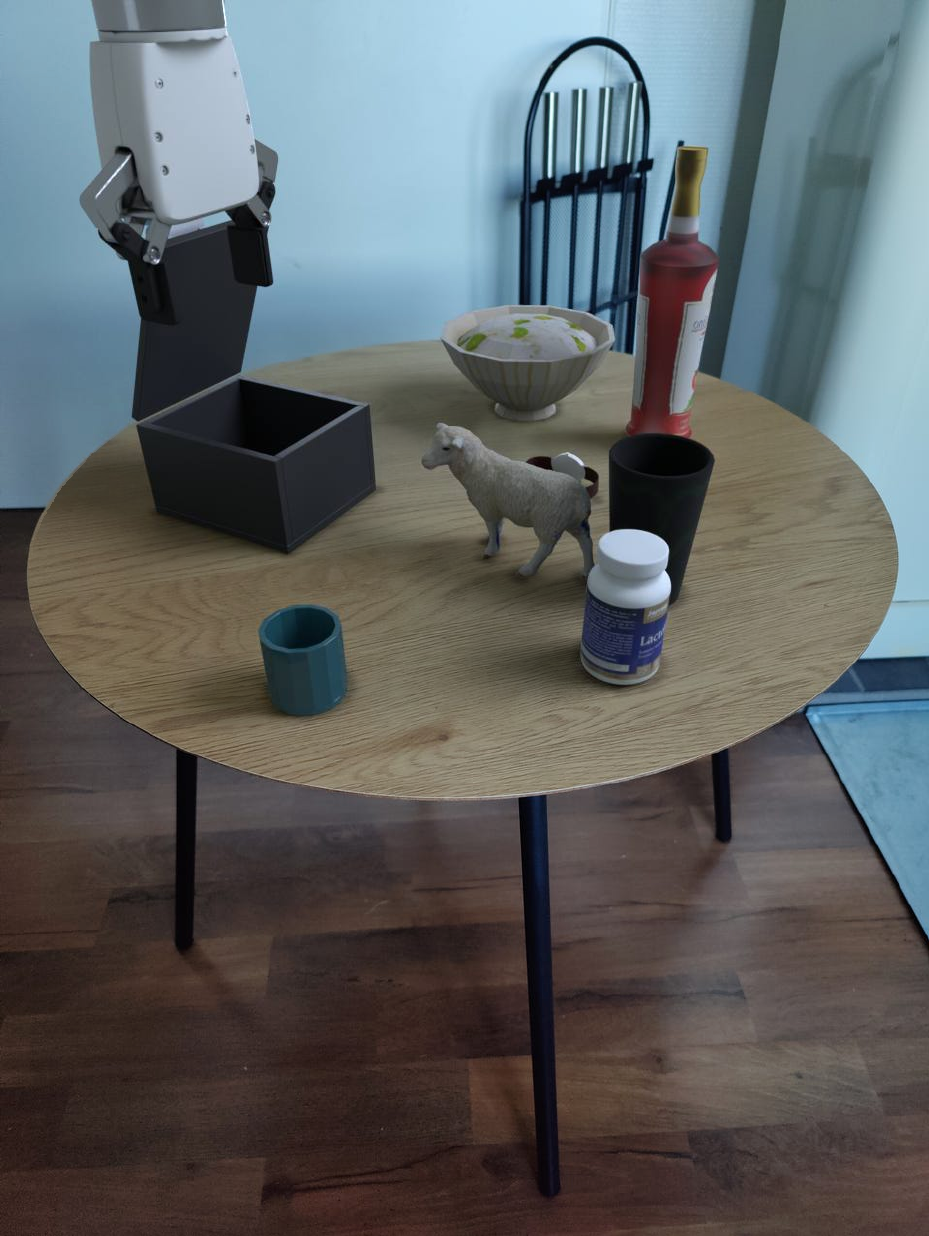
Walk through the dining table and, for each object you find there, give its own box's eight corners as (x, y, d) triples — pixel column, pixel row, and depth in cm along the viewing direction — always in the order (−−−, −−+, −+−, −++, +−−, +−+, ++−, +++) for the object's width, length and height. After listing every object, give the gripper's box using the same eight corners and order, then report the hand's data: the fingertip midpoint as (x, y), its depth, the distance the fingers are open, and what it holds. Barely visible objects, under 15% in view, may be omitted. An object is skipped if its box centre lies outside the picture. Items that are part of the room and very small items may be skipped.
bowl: (407, 406, 105) (402, 319, 99) (527, 365, 115) (529, 284, 109) (523, 461, 93) (525, 366, 87) (645, 410, 103) (655, 322, 97)
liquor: (633, 423, 100) (663, 139, 84) (699, 434, 98) (743, 144, 81) (613, 449, 95) (640, 151, 79) (682, 462, 92) (725, 156, 76)
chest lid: (271, 214, 78) (227, 184, 78) (155, 250, 68) (105, 216, 69) (241, 372, 89) (202, 345, 90) (137, 422, 80) (95, 391, 80)
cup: (650, 629, 69) (669, 488, 62) (577, 588, 74) (587, 453, 67) (712, 591, 73) (736, 455, 66) (638, 554, 78) (653, 423, 71)
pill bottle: (651, 695, 63) (668, 575, 57) (571, 678, 65) (580, 559, 59) (665, 648, 67) (683, 531, 61) (590, 632, 69) (600, 517, 63)
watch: (606, 491, 87) (609, 456, 85) (584, 511, 84) (587, 476, 82) (536, 472, 91) (538, 438, 89) (513, 491, 88) (513, 456, 86)
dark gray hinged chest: (376, 489, 88) (369, 403, 83) (288, 554, 79) (274, 461, 73) (251, 456, 95) (238, 374, 89) (156, 512, 85) (135, 424, 80)
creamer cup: (275, 723, 61) (264, 659, 58) (265, 674, 65) (253, 612, 62) (354, 707, 62) (347, 643, 59) (339, 659, 67) (332, 597, 63)
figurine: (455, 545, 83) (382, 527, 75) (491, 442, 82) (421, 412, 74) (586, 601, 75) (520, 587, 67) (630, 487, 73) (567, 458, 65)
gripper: (209, 4, 62) (247, 266, 72) (-6, 16, 49) (77, 330, 59) (298, 4, 59) (325, 277, 69) (94, 18, 46) (163, 348, 56)
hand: (210, 301), depth 64 cm, fingers open, 9 cm apart
